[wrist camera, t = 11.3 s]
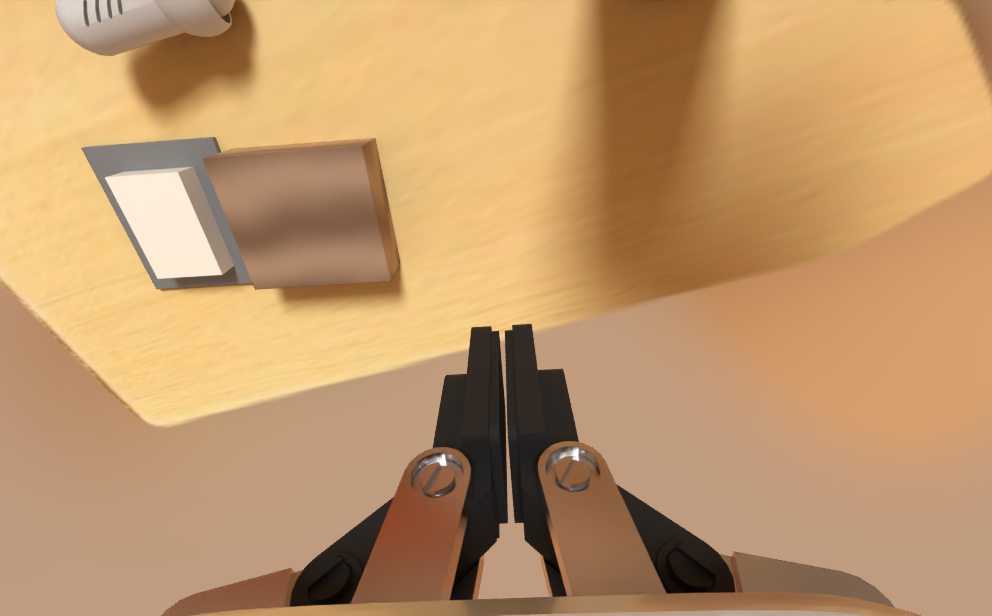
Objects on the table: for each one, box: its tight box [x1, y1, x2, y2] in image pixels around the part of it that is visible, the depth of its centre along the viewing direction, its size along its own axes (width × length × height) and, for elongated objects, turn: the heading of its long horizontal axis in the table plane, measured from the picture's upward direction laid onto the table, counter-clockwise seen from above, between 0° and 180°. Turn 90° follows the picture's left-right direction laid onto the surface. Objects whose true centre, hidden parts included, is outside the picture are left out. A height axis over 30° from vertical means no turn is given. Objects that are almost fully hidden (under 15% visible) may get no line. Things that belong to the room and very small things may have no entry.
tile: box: [105, 167, 234, 279], centre depth 37 cm, size 9×6×2 cm, turn 4°
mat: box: [81, 137, 252, 289], centre depth 38 cm, size 13×11×1 cm
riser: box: [202, 138, 400, 290], centre depth 36 cm, size 11×12×4 cm
